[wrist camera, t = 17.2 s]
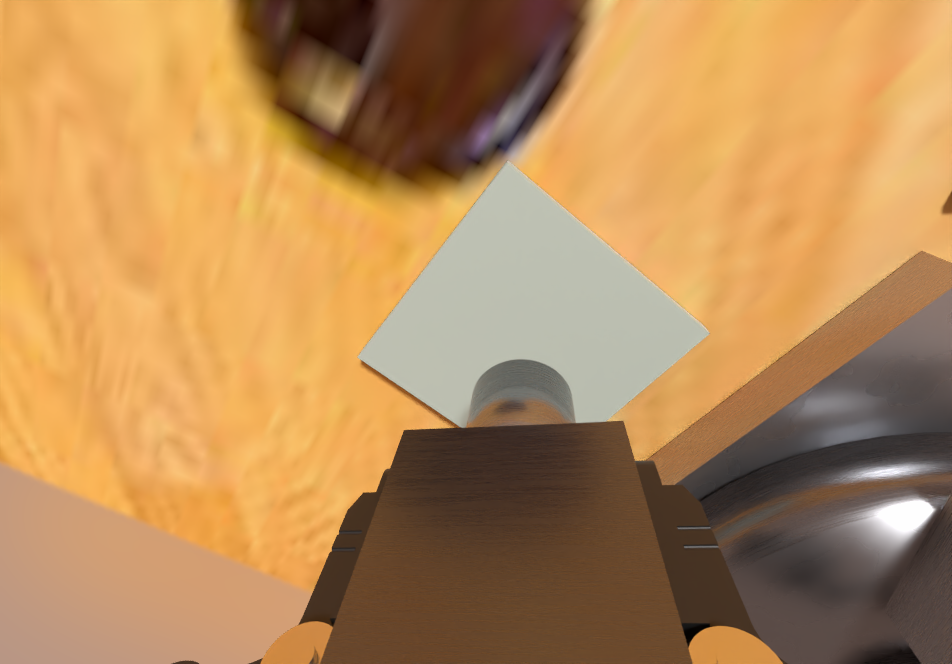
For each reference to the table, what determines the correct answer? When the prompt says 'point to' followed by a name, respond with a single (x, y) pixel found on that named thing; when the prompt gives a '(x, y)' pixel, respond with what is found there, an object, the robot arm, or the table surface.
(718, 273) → the table surface
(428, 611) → the block
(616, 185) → the table surface
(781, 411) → the drill stand
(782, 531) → the chuck collar
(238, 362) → the table surface
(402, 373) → the mat
